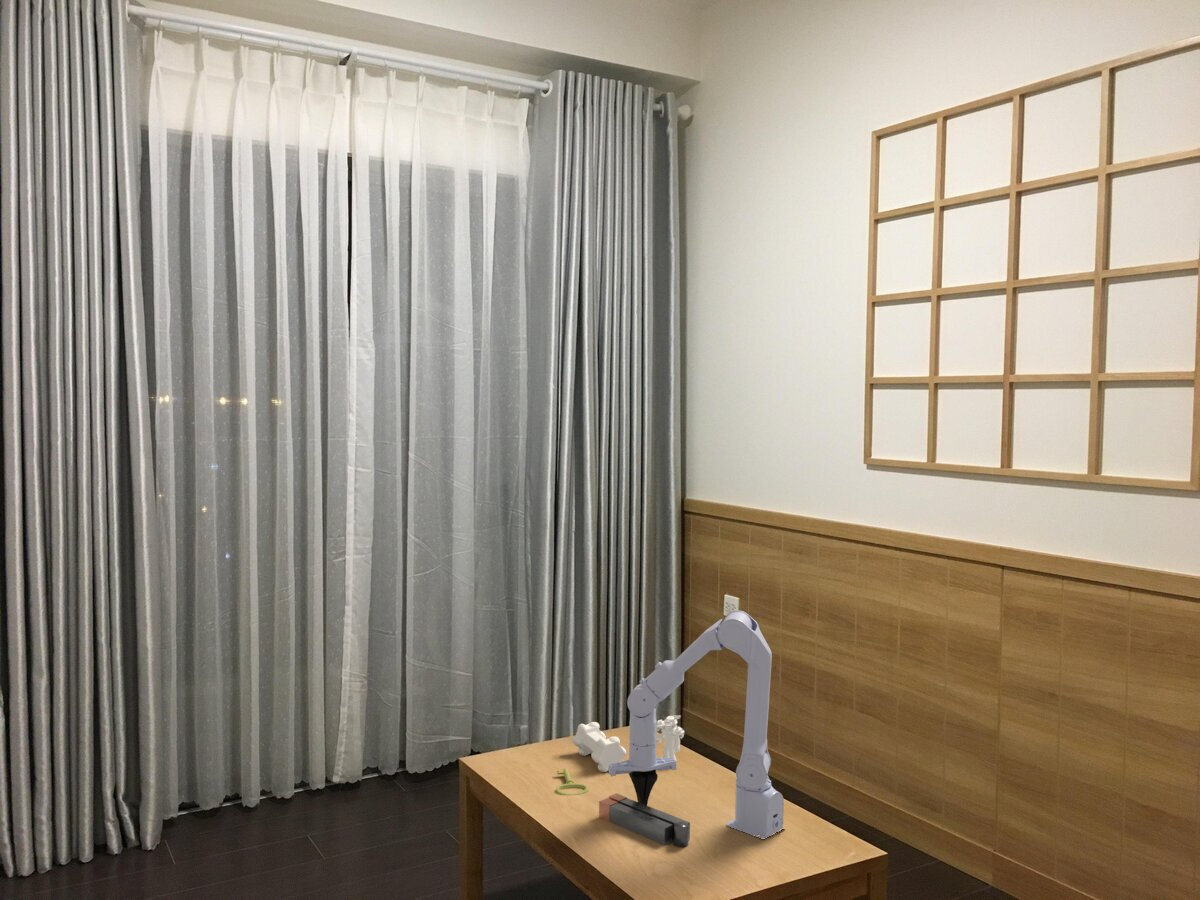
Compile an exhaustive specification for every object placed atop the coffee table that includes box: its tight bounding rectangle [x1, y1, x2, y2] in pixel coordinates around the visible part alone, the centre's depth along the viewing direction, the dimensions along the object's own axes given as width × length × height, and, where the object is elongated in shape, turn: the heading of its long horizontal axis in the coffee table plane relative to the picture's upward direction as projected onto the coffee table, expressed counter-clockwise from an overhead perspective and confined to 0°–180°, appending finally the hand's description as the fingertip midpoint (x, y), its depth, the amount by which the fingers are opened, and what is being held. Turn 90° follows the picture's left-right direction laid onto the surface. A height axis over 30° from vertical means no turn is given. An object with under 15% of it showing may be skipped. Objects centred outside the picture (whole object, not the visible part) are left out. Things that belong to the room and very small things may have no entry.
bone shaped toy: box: [571, 721, 627, 773], centre depth 234 cm, size 15×9×8 cm, turn 25°
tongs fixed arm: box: [598, 797, 673, 846], centre depth 197 cm, size 18×2×4 cm, turn 46°
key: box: [555, 768, 589, 796], centre depth 219 cm, size 7×12×2 cm, turn 30°
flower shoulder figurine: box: [656, 714, 685, 764], centre depth 235 cm, size 9×4×12 cm, turn 38°
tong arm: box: [608, 792, 691, 848], centre depth 197 cm, size 21×4×4 cm, turn 46°
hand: (642, 805), depth 205 cm, fingers closed
